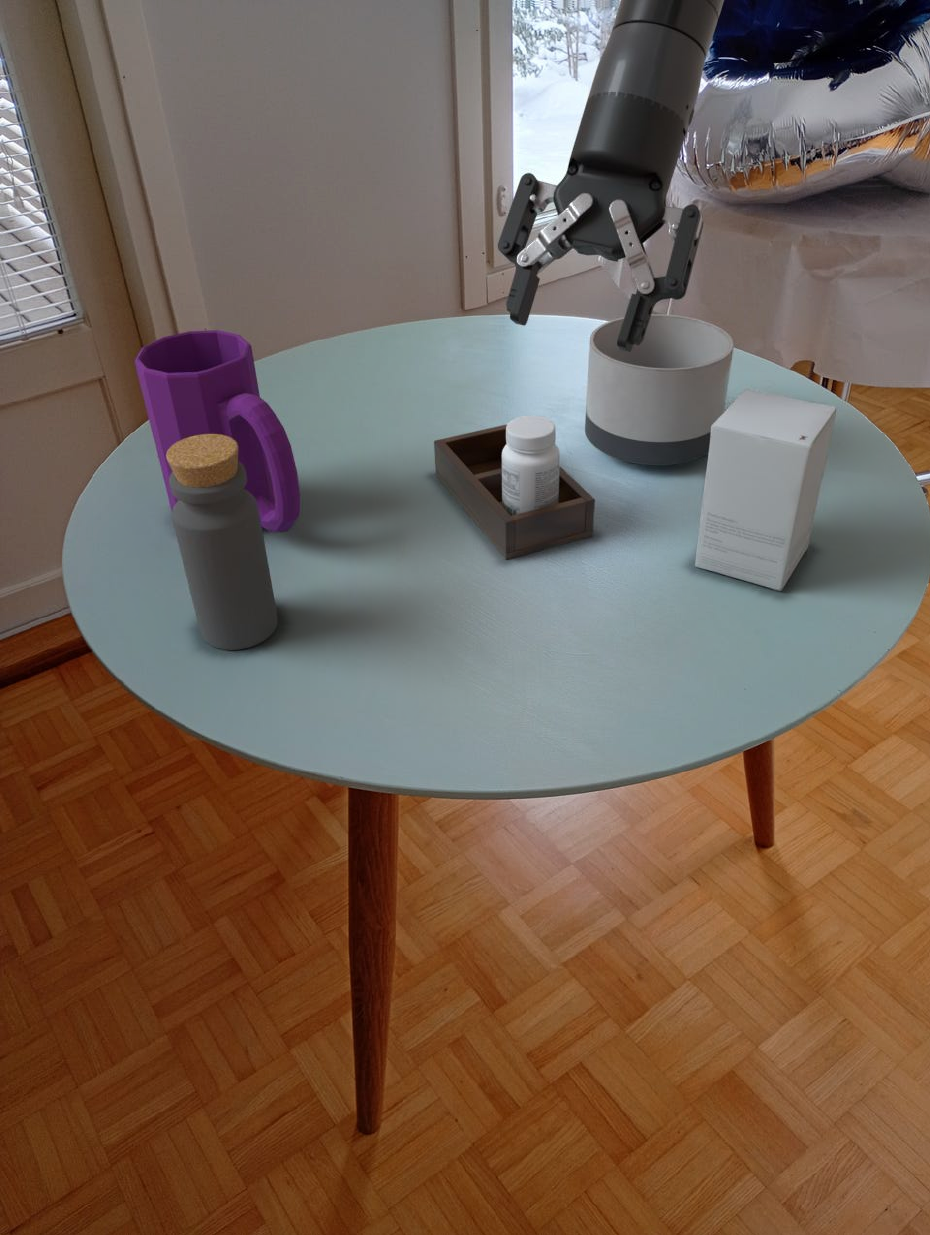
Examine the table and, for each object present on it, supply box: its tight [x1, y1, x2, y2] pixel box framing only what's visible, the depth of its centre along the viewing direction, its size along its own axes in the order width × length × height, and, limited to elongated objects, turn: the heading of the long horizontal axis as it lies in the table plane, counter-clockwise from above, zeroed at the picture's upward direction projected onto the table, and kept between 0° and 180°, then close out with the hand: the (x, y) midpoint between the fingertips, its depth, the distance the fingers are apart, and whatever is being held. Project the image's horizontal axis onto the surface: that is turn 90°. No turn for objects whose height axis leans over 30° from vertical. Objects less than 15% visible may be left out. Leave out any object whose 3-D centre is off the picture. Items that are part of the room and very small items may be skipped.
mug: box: [134, 329, 301, 533], centre depth 81 cm, size 9×16×15 cm, turn 47°
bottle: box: [166, 434, 279, 651], centre depth 70 cm, size 6×6×15 cm
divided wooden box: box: [433, 424, 596, 560], centre depth 86 cm, size 8×15×4 cm, turn 23°
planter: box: [584, 313, 735, 466], centre depth 92 cm, size 13×13×10 cm
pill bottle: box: [502, 415, 561, 516], centre depth 81 cm, size 5×5×8 cm
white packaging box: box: [694, 388, 838, 592], centre depth 76 cm, size 7×7×13 cm
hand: (569, 335), depth 73 cm, fingers open, 8 cm apart
